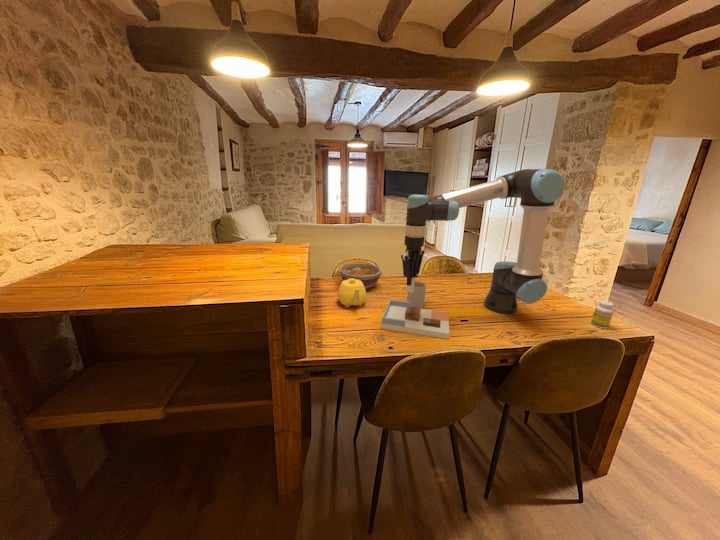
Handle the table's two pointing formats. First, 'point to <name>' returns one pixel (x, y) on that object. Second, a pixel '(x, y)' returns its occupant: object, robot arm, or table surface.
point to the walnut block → (412, 313)
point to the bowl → (361, 273)
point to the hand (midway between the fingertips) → (409, 291)
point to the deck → (427, 325)
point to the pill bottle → (602, 314)
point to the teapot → (352, 293)
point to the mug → (417, 295)
